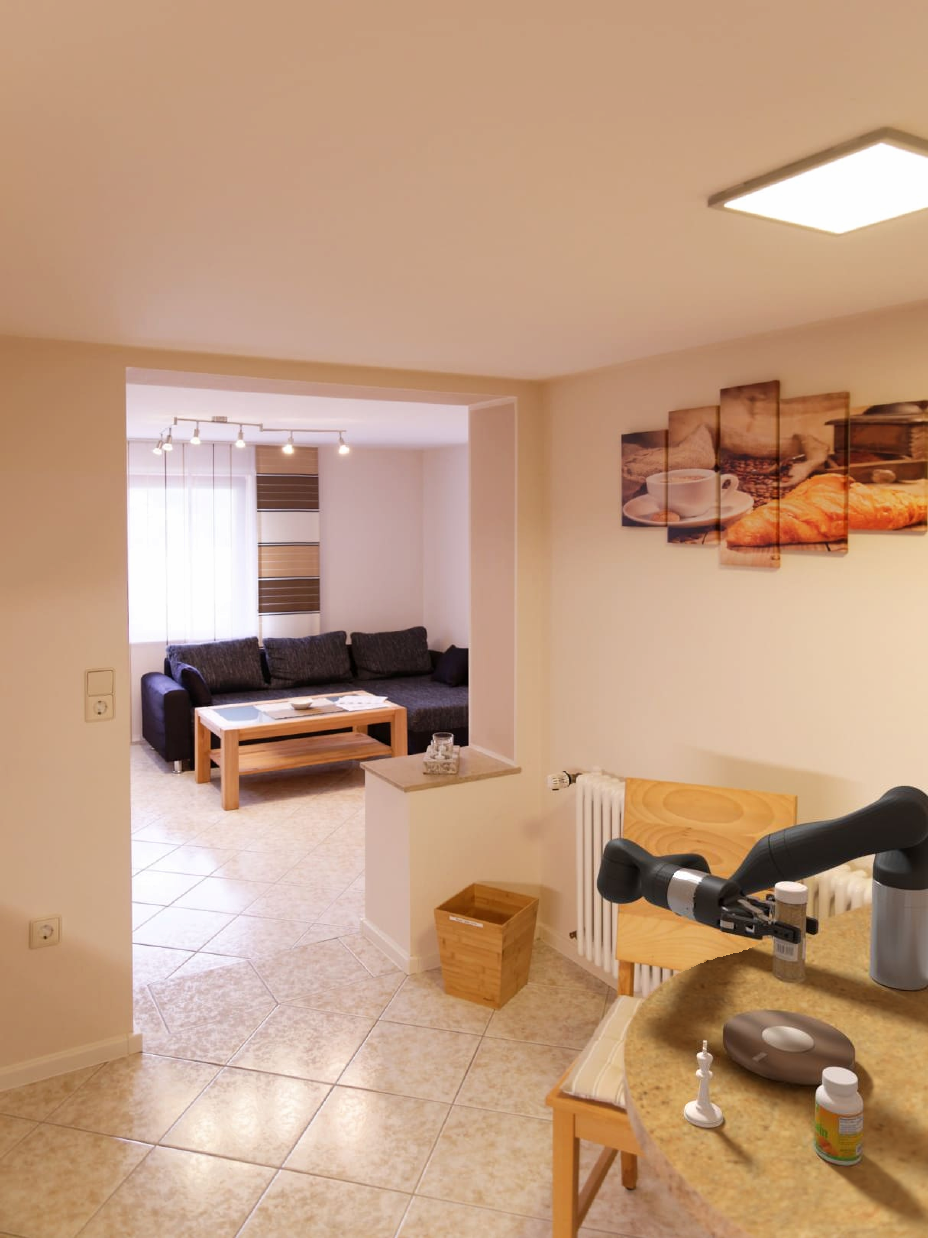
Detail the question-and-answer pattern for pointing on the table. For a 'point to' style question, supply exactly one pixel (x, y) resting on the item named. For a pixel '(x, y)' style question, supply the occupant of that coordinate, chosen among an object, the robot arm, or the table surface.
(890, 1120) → the table surface
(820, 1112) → the supplement bottle
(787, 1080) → the turntable platter
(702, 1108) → the chess piece
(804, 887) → the sprinkles bottle
